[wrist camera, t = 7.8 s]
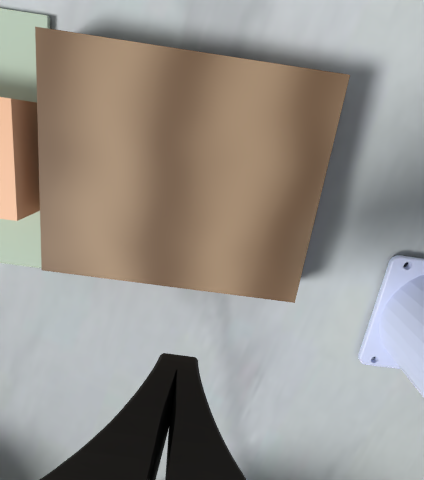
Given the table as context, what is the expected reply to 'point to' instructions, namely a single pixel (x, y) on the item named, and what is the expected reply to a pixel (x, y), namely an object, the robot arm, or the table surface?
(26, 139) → the block
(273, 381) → the table surface
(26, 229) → the mat
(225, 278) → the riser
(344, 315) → the table surface
